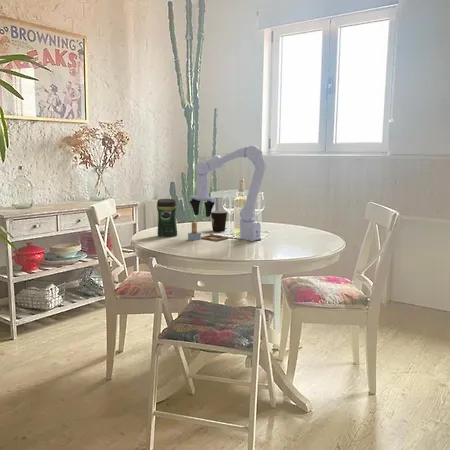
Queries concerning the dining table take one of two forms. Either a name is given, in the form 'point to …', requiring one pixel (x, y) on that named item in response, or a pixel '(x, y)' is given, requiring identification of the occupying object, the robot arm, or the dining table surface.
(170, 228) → the coffee jar
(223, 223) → the coffee mug
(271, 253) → the dining table surface
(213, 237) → the tray
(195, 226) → the dowel
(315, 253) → the dining table surface
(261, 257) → the dining table surface
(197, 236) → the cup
